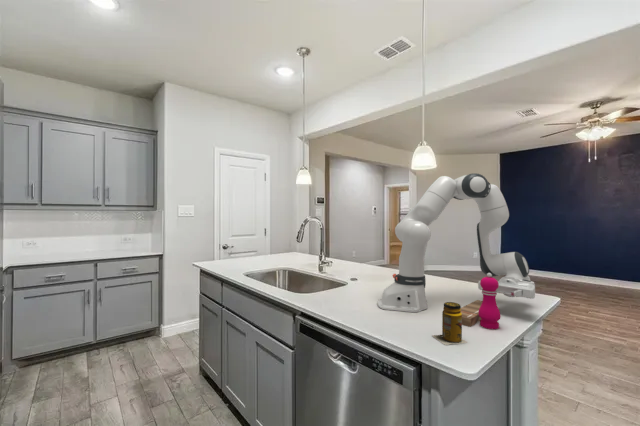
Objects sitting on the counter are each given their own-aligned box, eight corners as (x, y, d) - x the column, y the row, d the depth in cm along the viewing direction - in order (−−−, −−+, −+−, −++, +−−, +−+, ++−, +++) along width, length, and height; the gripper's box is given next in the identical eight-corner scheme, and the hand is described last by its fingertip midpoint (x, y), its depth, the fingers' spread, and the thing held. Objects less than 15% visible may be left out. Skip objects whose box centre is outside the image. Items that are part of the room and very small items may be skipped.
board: (470, 327, 113) (470, 318, 113) (449, 321, 118) (449, 313, 118) (496, 310, 131) (496, 303, 131) (477, 306, 137) (477, 299, 137)
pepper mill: (474, 323, 117) (474, 271, 117) (492, 322, 117) (492, 270, 117) (486, 330, 109) (486, 275, 109) (505, 329, 110) (505, 274, 110)
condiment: (467, 342, 99) (467, 306, 99) (445, 345, 97) (445, 308, 97) (453, 334, 106) (453, 300, 106) (431, 336, 104) (431, 301, 104)
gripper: (484, 275, 137) (472, 279, 128) (539, 282, 122) (529, 288, 113) (484, 288, 137) (472, 294, 128) (539, 298, 122) (529, 305, 113)
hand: (499, 291), depth 120 cm, fingers open, 8 cm apart
